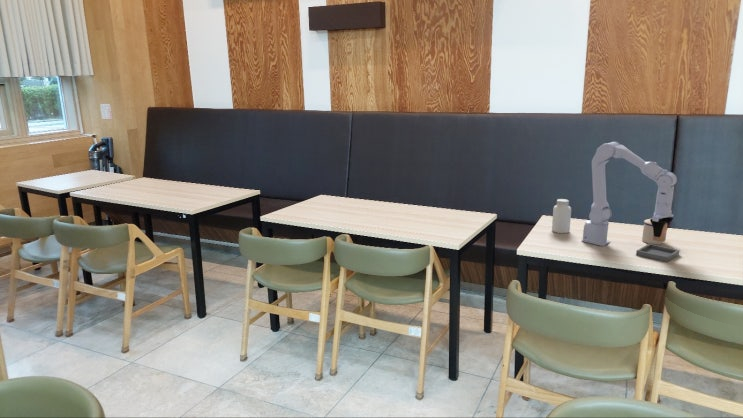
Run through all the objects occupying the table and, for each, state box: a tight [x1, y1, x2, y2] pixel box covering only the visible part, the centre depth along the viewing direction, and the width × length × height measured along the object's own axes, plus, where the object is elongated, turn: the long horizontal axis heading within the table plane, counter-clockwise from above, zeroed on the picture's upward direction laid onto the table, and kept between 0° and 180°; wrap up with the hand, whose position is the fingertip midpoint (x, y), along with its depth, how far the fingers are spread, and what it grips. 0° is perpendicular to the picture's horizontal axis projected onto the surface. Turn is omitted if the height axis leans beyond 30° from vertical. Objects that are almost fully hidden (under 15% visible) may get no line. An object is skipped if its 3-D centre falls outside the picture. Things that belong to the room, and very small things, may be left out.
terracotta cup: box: [652, 223, 668, 242], centre depth 222 cm, size 5×5×7 cm
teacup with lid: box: [641, 217, 665, 246], centre depth 241 cm, size 12×9×12 cm
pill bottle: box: [551, 198, 572, 234], centre depth 255 cm, size 8×8×15 cm
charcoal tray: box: [635, 243, 680, 263], centre depth 224 cm, size 12×13×2 cm
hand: (659, 235), depth 222 cm, fingers closed on terracotta cup, 5 cm apart
